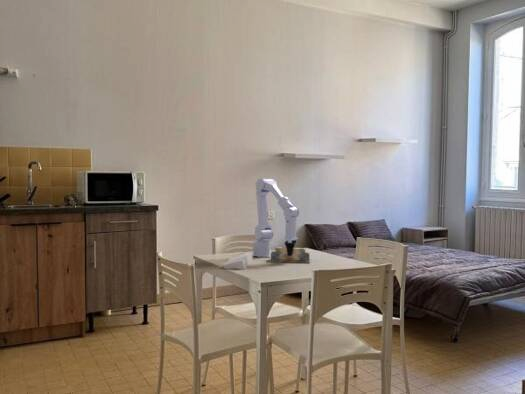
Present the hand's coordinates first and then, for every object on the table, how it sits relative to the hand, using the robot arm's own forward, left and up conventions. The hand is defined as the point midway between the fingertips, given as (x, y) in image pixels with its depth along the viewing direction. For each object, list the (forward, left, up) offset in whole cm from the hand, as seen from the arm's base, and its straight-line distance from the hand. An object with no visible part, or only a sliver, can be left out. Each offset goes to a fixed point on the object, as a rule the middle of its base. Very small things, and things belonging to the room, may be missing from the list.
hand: (290, 254), depth 274 cm
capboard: (0, 0, -3) cm, 3 cm away
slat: (0, 0, -2) cm, 2 cm away
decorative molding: (-26, -14, -4) cm, 30 cm away
